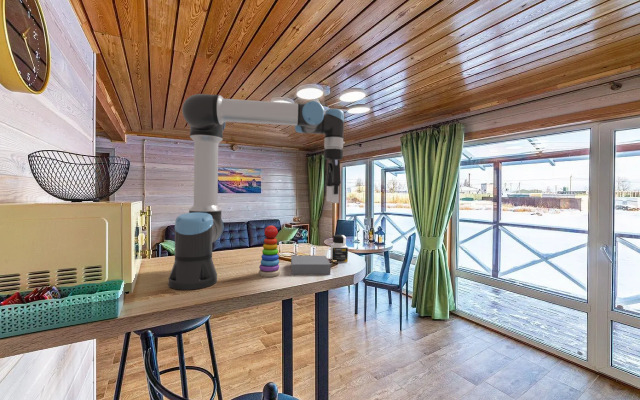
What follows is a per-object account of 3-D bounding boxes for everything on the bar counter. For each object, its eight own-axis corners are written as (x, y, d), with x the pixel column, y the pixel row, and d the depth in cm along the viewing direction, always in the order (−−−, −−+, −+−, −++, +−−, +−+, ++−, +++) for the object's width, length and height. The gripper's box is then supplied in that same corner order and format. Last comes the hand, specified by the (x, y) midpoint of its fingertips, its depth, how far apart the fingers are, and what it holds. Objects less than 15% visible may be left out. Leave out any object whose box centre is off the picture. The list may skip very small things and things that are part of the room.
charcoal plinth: (291, 274, 111) (291, 264, 111) (290, 264, 126) (291, 255, 126) (330, 274, 113) (330, 264, 113) (325, 264, 128) (325, 255, 128)
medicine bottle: (332, 262, 132) (332, 236, 132) (330, 258, 139) (331, 233, 139) (347, 262, 133) (348, 236, 133) (345, 258, 140) (345, 234, 140)
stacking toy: (278, 278, 107) (279, 227, 106) (256, 277, 107) (257, 226, 106) (281, 272, 115) (282, 224, 114) (261, 271, 115) (262, 224, 114)
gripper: (349, 145, 104) (347, 203, 105) (337, 153, 129) (336, 201, 130) (329, 144, 104) (327, 203, 104) (320, 152, 128) (319, 200, 129)
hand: (332, 202), depth 117 cm, fingers open, 13 cm apart
